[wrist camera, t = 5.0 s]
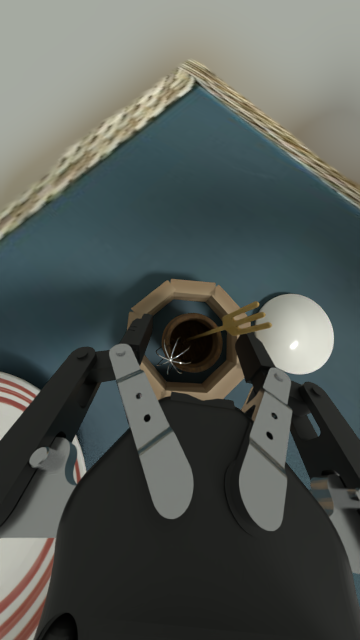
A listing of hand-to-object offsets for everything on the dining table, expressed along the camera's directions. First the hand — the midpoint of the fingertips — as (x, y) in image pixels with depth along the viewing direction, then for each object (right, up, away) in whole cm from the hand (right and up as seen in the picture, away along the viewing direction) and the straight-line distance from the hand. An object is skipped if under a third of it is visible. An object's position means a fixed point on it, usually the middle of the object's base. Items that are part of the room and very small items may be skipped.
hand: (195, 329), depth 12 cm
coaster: (+14, -1, +7) cm, 16 cm away
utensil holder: (-1, -2, +6) cm, 7 cm away
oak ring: (0, -2, +6) cm, 6 cm away
